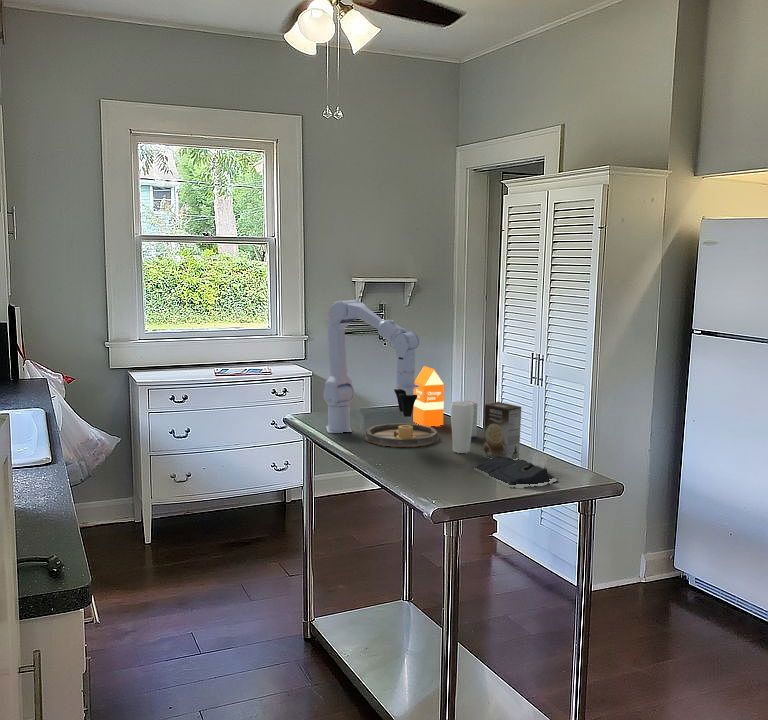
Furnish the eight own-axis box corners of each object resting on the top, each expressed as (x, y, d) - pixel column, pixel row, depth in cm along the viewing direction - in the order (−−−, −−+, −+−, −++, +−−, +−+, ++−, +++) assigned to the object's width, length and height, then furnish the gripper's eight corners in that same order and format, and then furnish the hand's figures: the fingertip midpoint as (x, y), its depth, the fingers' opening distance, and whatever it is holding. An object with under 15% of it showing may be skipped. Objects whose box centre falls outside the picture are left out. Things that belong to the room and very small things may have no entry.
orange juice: (423, 427, 269) (424, 369, 266) (412, 422, 277) (413, 366, 274) (443, 425, 272) (444, 368, 269) (432, 420, 280) (433, 365, 277)
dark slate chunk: (513, 464, 225) (514, 448, 225) (562, 485, 206) (563, 467, 205) (468, 470, 219) (468, 453, 218) (514, 492, 199) (514, 474, 198)
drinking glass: (476, 454, 234) (477, 404, 232) (454, 455, 232) (456, 405, 230) (467, 448, 241) (468, 400, 239) (446, 449, 239) (447, 401, 237)
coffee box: (482, 457, 230) (483, 404, 228) (496, 454, 235) (497, 401, 232) (506, 464, 224) (508, 408, 221) (520, 460, 228) (522, 406, 226)
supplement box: (477, 437, 255) (478, 403, 253) (461, 439, 252) (462, 404, 251) (467, 434, 260) (468, 400, 258) (452, 435, 257) (453, 401, 256)
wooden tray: (360, 430, 263) (360, 423, 262) (430, 429, 266) (430, 421, 266) (369, 448, 239) (369, 440, 239) (446, 446, 243) (446, 438, 243)
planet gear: (393, 438, 249) (393, 424, 249) (413, 437, 250) (413, 424, 250) (397, 443, 243) (397, 429, 242) (417, 442, 244) (417, 428, 243)
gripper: (423, 374, 237) (422, 418, 239) (414, 367, 251) (413, 408, 253) (400, 374, 236) (399, 419, 238) (392, 367, 250) (391, 409, 252)
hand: (405, 413), depth 245 cm, fingers open, 7 cm apart
